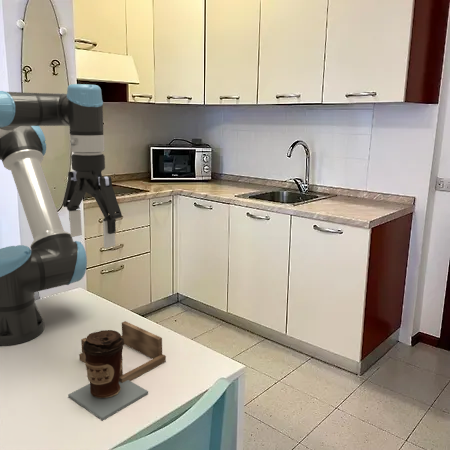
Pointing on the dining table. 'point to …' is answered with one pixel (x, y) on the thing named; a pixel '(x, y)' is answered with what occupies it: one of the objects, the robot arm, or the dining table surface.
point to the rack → (138, 349)
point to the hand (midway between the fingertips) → (92, 241)
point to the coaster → (108, 399)
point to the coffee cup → (104, 362)
